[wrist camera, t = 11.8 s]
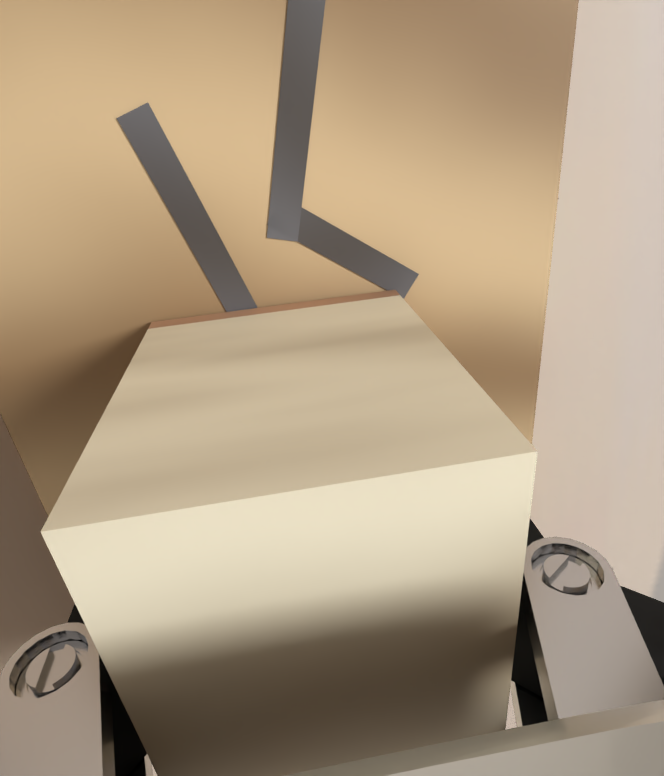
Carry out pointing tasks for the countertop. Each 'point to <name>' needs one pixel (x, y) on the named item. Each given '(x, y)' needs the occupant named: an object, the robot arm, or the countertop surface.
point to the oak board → (269, 183)
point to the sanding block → (299, 539)
